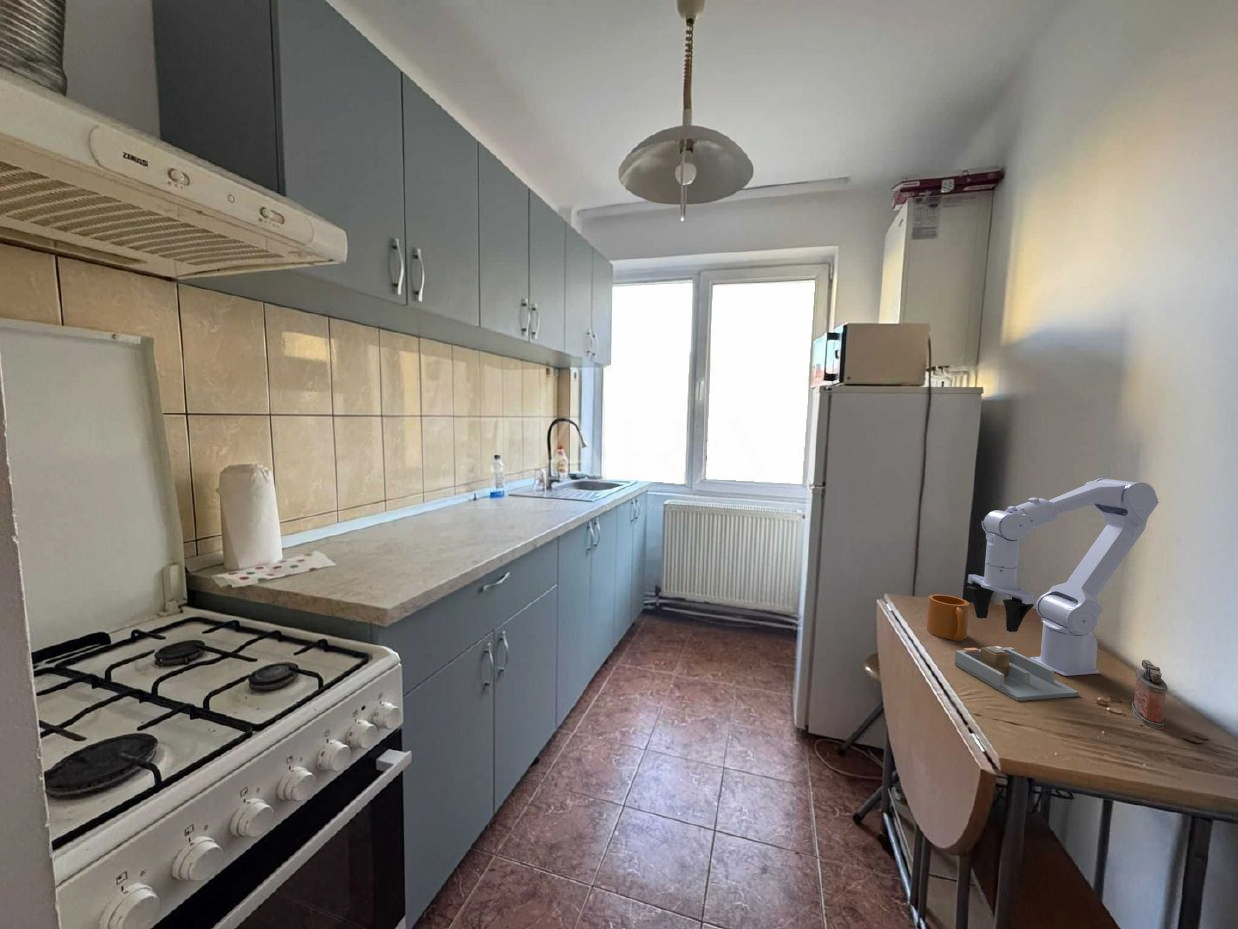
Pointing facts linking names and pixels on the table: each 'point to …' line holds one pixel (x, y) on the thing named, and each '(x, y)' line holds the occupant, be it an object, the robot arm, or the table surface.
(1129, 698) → the table surface
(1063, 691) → the socket board
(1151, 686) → the lighter
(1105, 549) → the robot arm
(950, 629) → the mug
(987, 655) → the plug
